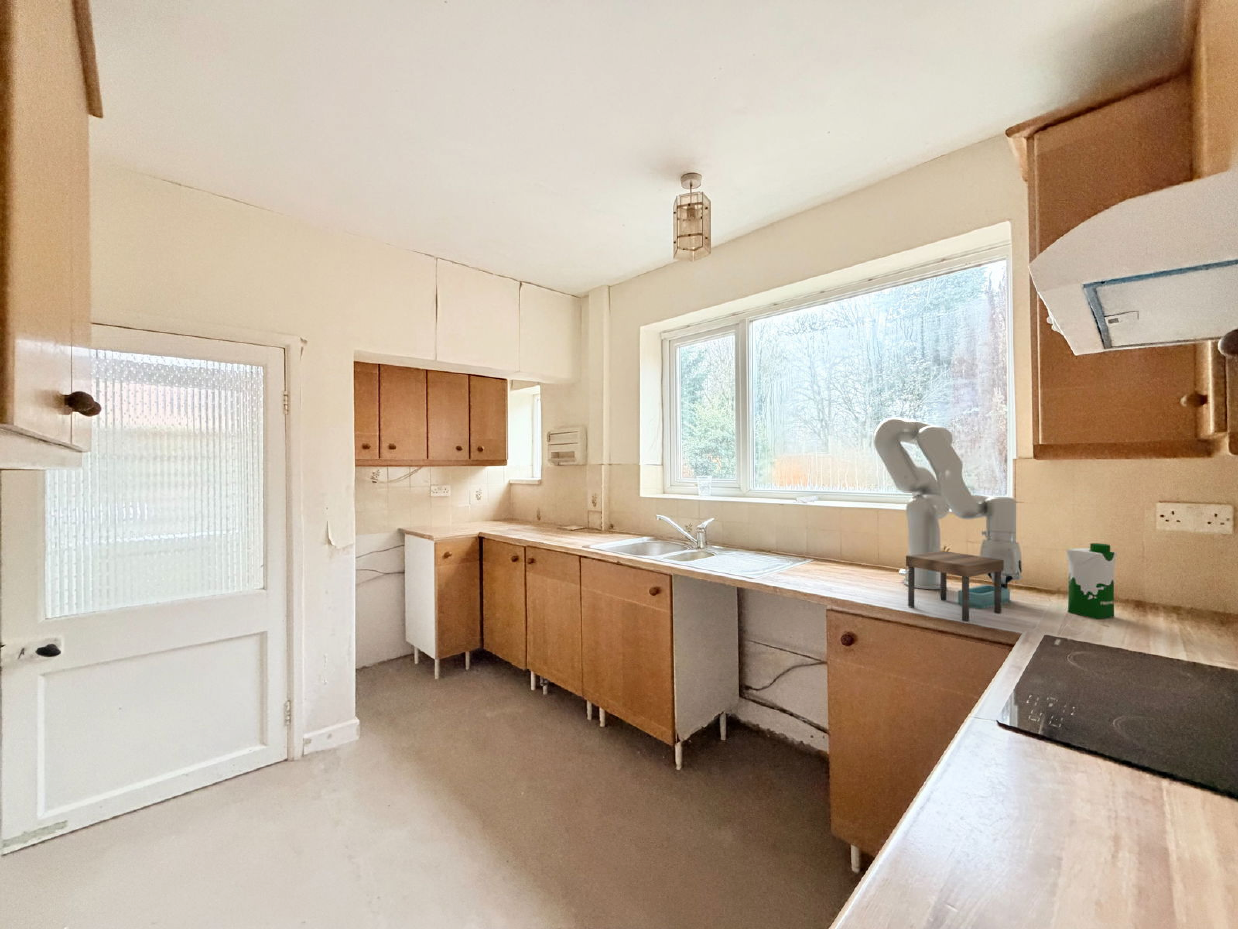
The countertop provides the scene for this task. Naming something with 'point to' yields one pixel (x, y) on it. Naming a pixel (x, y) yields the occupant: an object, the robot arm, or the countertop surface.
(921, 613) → the countertop surface
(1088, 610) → the milk carton
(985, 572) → the small wooden table
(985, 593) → the tray
